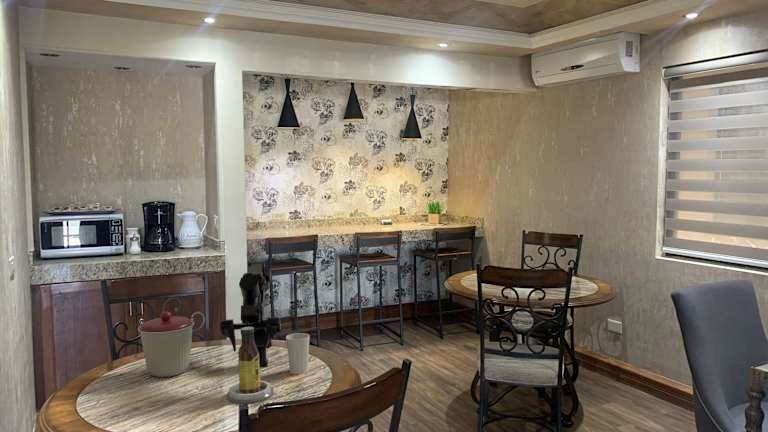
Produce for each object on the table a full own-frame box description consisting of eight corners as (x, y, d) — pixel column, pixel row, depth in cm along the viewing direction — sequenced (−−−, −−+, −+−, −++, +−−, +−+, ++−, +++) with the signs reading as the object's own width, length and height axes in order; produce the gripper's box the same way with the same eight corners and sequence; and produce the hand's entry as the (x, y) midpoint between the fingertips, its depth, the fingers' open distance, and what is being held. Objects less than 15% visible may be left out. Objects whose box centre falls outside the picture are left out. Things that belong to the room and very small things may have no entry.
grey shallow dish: (229, 388, 188) (228, 381, 188) (274, 384, 190) (273, 377, 190) (224, 405, 174) (224, 398, 174) (273, 401, 176) (272, 394, 176)
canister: (128, 378, 199) (124, 316, 198) (167, 361, 216) (163, 304, 214) (171, 384, 193) (167, 320, 191) (207, 366, 209) (204, 307, 208)
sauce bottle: (261, 394, 180) (258, 330, 178) (239, 397, 178) (237, 332, 177) (260, 386, 186) (257, 324, 185) (239, 389, 185) (236, 326, 183)
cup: (288, 367, 206) (286, 333, 205) (311, 366, 207) (310, 332, 206) (286, 375, 198) (284, 340, 197) (310, 374, 199) (309, 339, 198)
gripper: (218, 295, 188) (215, 339, 178) (278, 292, 190) (278, 336, 180) (223, 313, 196) (220, 356, 186) (281, 310, 198) (280, 353, 189)
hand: (249, 350), depth 185 cm, fingers open, 9 cm apart
